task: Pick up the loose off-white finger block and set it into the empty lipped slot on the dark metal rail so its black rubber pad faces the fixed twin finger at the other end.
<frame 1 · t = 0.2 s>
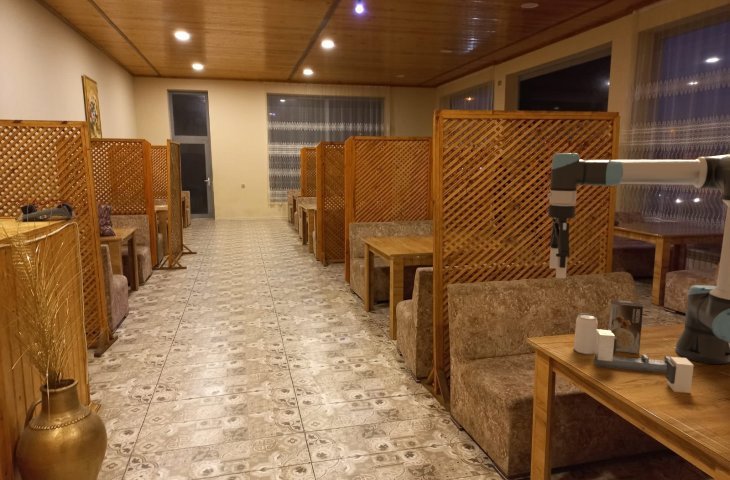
hand: (557, 273, 156), 28 cm above the table, fingers open, 13 cm apart
coffee box: (622, 349, 169), on the table
can: (584, 351, 166), on the table
rail: (630, 367, 154), on the table
loose finger: (678, 388, 140), on the table
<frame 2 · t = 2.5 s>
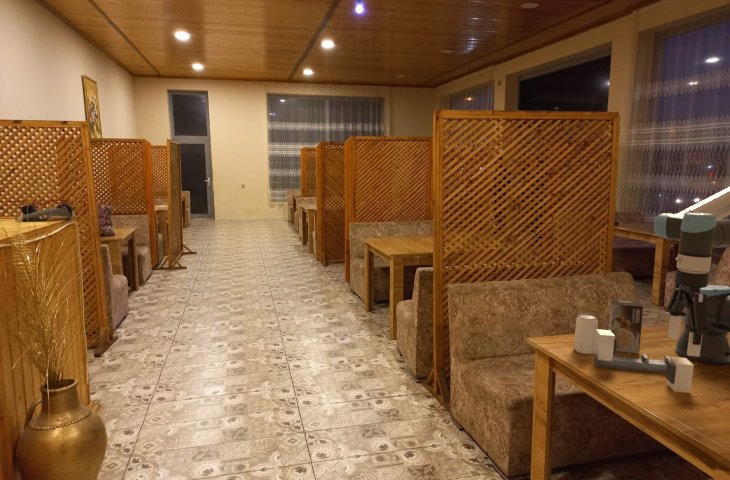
hand: (682, 346, 138), 12 cm above the table, fingers open, 13 cm apart
nothing on the table moved.
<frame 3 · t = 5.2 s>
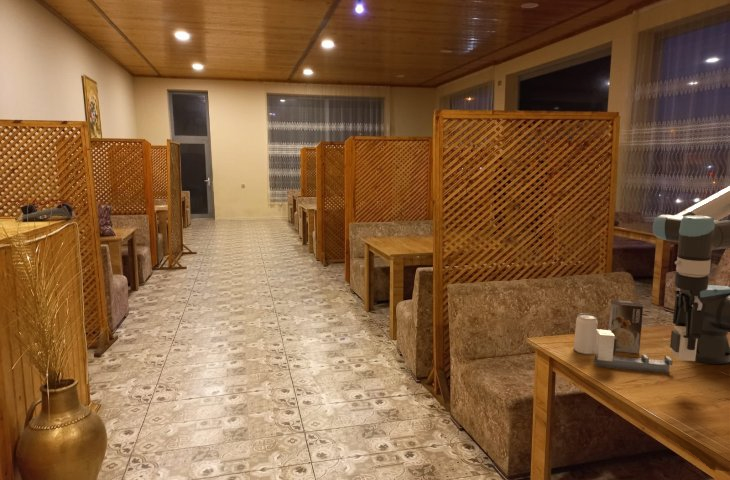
hand: (683, 355, 139), 9 cm above the table, fingers closed on loose finger, 5 cm apart
loose finger: (683, 356, 139), point 9 cm above the table, touching gripper
everything else where it was.
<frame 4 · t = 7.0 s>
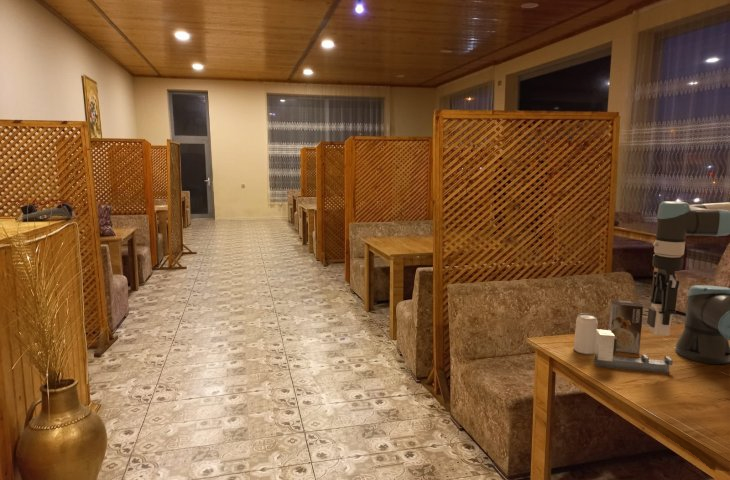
hand: (659, 331, 150), 12 cm above the table, fingers closed on loose finger, 5 cm apart
loose finger: (658, 332, 150), point 12 cm above the table, touching gripper
everything else where it was.
when the fingers open (2 cm above the table, at t = 9.3 s): loose finger stays where it is, resting on rail.
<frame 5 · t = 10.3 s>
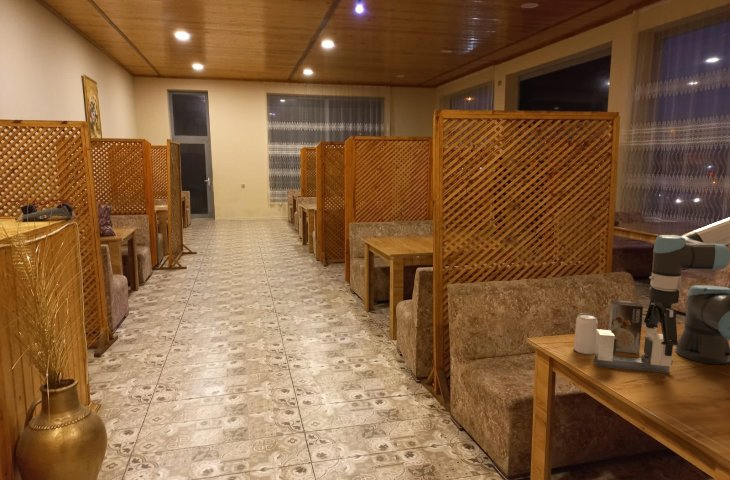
hand: (657, 356, 151), 4 cm above the table, fingers open, 13 cm apart
loose finger: (655, 361, 152), point 2 cm above the table, touching rail
everything else where it was.
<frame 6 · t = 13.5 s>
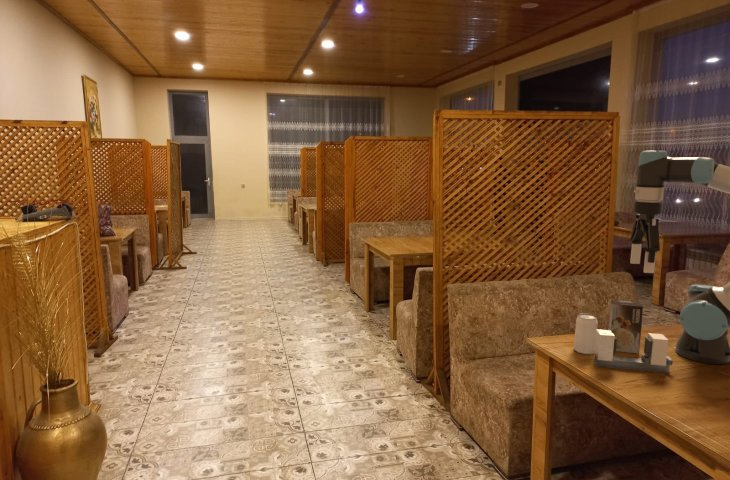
hand: (641, 268, 160), 29 cm above the table, fingers open, 13 cm apart
nothing on the table moved.
at the end: loose finger 0.3 cm from the target spot on the rail, point 2.5 cm above the rail's base; loose finger tilted 0°; the gripper is holding nothing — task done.
